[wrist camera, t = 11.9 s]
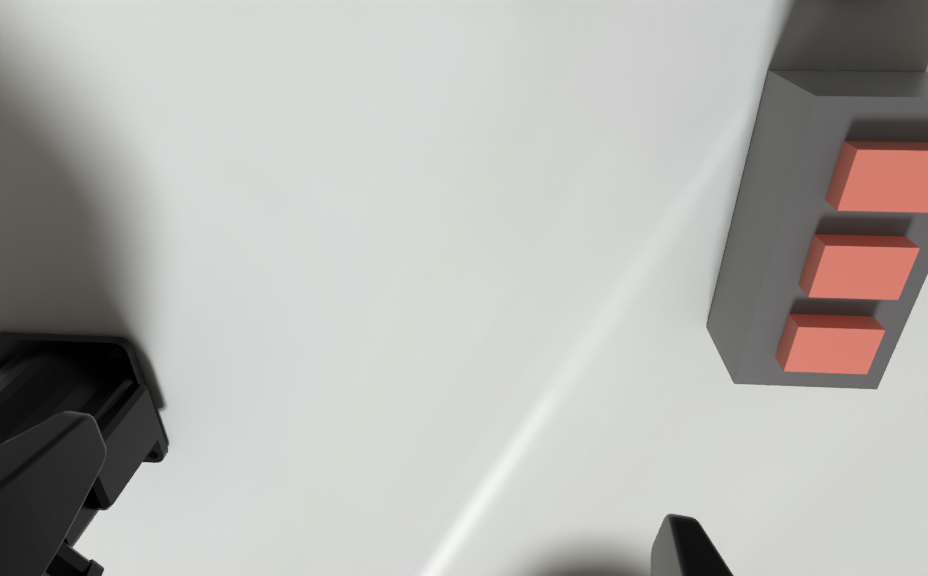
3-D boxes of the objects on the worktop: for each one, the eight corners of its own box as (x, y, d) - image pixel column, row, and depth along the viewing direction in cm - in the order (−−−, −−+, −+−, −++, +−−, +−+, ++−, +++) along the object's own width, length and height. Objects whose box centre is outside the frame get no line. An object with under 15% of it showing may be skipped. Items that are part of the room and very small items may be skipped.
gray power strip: (831, 331, 22) (888, 403, 19) (706, 327, 22) (741, 398, 19) (926, 71, 17) (1025, 105, 14) (768, 70, 18) (828, 103, 14)
